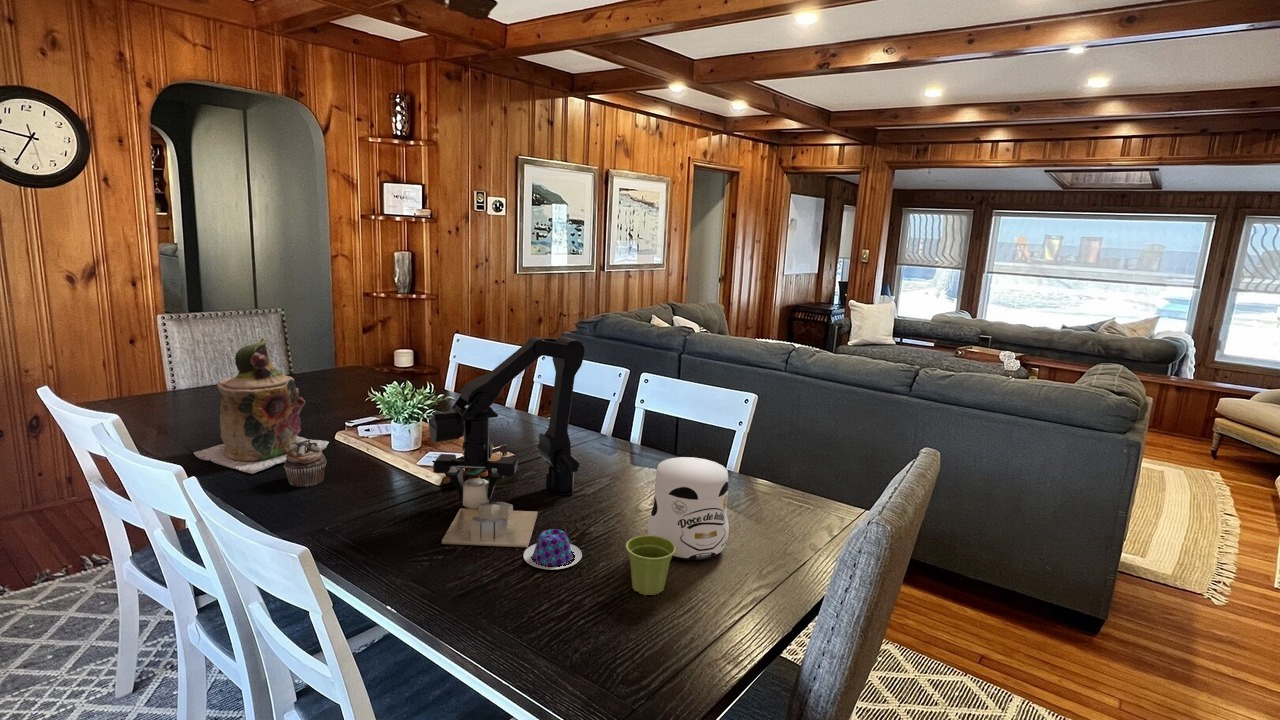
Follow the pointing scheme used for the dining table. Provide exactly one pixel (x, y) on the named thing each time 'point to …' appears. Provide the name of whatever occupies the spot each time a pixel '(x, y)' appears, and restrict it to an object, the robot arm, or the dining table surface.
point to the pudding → (552, 550)
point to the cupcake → (305, 464)
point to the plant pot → (649, 563)
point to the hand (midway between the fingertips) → (476, 498)
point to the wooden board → (491, 526)
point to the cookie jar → (257, 414)
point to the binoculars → (473, 472)
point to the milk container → (691, 507)
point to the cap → (475, 492)
